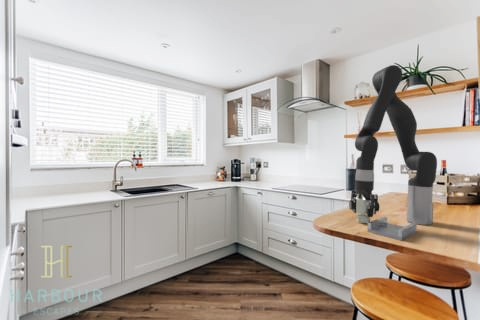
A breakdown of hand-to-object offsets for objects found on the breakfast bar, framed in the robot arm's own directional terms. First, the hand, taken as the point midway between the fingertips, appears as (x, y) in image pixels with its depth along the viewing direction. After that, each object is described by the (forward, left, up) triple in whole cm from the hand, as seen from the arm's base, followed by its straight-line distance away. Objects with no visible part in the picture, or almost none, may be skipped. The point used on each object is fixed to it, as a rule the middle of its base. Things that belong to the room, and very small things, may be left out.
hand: (363, 214), depth 109 cm
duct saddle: (-2, +14, -4) cm, 15 cm away
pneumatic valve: (0, 0, -4) cm, 4 cm away
